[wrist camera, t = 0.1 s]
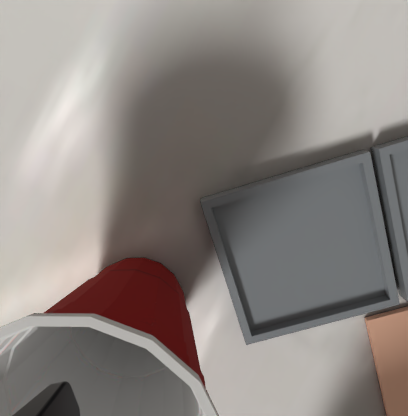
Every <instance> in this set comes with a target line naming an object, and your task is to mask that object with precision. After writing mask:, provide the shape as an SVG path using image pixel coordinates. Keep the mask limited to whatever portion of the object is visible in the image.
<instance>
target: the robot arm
mask: <svg viewBox="0 0 408 416" xmlns="http://www.w3.org/2000/svg"><path fill="white" fill-rule="evenodd" d="M12 416H80V408H79V405H78V403H77V400H76V397H75V395H74V392H73V390H72V387H71V385H70V383H69V382H67V381H62V382H57V383H53V384H50V385H49V386H47V387H46V388H45V389H44V390H43V391H41V392H40V393H39V394H38V395H37V396H35V397H34V398H33V399H32V400H30V401H29V402H28V403H27V404H26V405H24V406H23V407H22V408H21V409H20V410H18V411H17V412H16V413H15V414H13V415H12Z"/></svg>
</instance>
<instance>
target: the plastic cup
mask: <svg viewBox="0 0 408 416" xmlns="http://www.w3.org/2000/svg"><path fill="white" fill-rule="evenodd" d="M62 381H67V382H69V383H70V385H71V387H72V390H73V392H74V395H75V397H76V400H77V403H78V405H79V408H80V416H219V415H218V413H217V411H216V409H215V407H214V405H213V403H212V401H211V399H210V397H209V394H208V392H207V390H206V388H205V381H204V376H203V374H202V372H201V370H200V365H199V360H198V355H197V350H196V345H195V340H194V335H193V330H192V325H191V320H190V315H189V312H188V310H187V308H186V303H185V298H184V293H183V291H182V289H181V287H180V285H179V283H178V281H177V279H176V277H175V276H174V274H173V273H172V272H170V271H169V270H168V269H167V268H166V267H165V266H163V265H162V264H161V263H158V262H155V261H153V260H150V259H147V258H127V259H124V260H121V261H119V262H117V263H114V264H112V265H110V266H107V267H106V268H105V269H104V270H103V271H101V272H100V273H99V274H98V275H96V276H95V277H94V278H91V279H89V280H88V281H86V282H85V283H83V284H82V285H81V286H79V287H78V288H77V289H75V290H74V291H73V292H71V293H70V294H69V295H67V296H66V297H65V298H63V299H62V300H60V301H59V302H58V303H56V304H55V305H54V306H52V307H51V308H50V309H48V310H47V311H46V312H44V313H34V314H31V315H29V316H26V317H24V318H21V319H19V320H16V321H14V322H11V323H9V324H7V325H4V326H2V327H0V416H12V415H13V414H15V413H16V412H17V411H18V410H20V409H21V408H22V407H23V406H24V405H26V404H27V403H28V402H29V401H30V400H32V399H33V398H34V397H35V396H37V395H38V394H39V393H40V392H41V391H43V390H44V389H45V388H46V387H47V386H49V385H50V384H53V383H57V382H62Z"/></svg>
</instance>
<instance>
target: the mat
mask: <svg viewBox="0 0 408 416" xmlns="http://www.w3.org/2000/svg"><path fill="white" fill-rule="evenodd" d="M365 322H366V326H367V331H368V335H369V340H370V344H371V348H372V353H373V357H374V362H375V366H376V371H377V375H378V380H379V384H380V389H381V393H382V398H383V402H384V407H385V411H386V416H408V306H407V307H403V308H399V309H396V310H392V311H388V312H384V313H380V314H376V315H373V316H369V317H365Z"/></svg>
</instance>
